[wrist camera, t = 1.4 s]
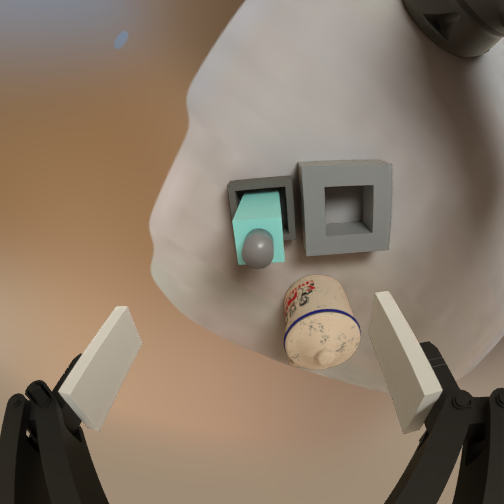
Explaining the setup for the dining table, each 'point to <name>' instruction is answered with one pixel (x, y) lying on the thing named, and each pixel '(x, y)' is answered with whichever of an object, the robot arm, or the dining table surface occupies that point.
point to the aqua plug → (259, 229)
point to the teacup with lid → (319, 323)
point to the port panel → (354, 233)
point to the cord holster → (266, 183)
